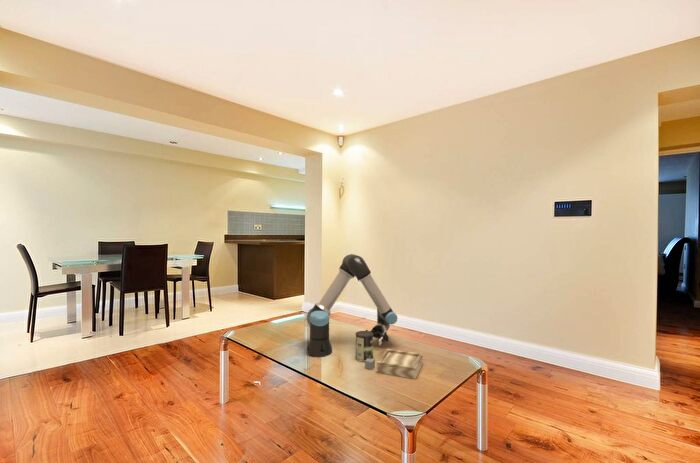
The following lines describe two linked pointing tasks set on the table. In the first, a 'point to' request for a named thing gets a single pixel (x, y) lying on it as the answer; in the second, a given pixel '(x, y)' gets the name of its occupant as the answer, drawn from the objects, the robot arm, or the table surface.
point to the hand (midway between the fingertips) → (368, 341)
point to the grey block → (369, 363)
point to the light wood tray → (400, 363)
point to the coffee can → (364, 345)
